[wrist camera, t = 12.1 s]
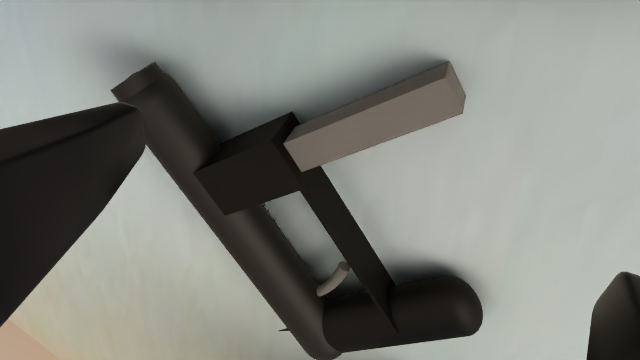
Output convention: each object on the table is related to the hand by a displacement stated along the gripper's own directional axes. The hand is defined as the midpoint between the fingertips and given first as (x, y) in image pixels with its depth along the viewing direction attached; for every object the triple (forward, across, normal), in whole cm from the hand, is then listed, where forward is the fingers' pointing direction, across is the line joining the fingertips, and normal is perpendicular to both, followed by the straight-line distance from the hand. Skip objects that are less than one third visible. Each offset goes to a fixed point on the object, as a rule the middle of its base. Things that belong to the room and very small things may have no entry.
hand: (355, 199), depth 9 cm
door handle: (+13, +3, +11) cm, 17 cm away
